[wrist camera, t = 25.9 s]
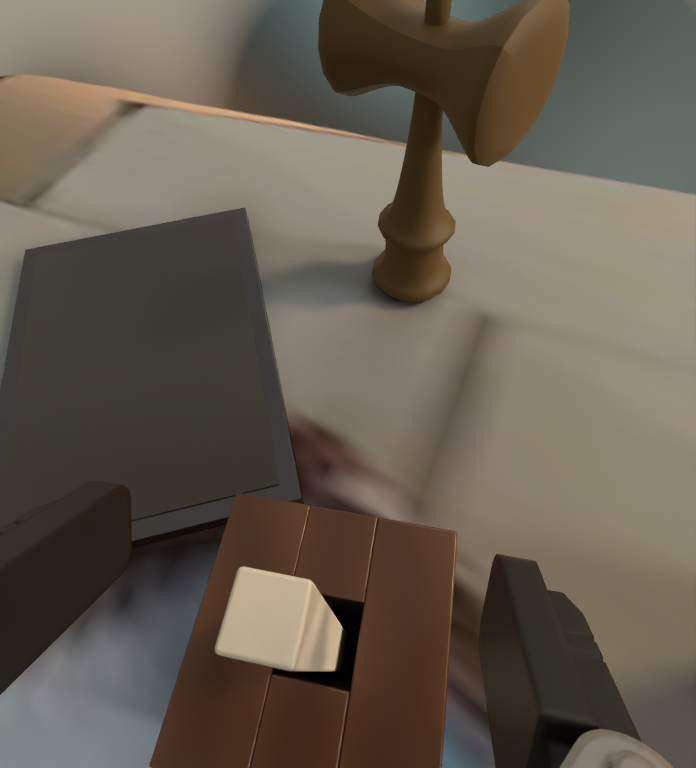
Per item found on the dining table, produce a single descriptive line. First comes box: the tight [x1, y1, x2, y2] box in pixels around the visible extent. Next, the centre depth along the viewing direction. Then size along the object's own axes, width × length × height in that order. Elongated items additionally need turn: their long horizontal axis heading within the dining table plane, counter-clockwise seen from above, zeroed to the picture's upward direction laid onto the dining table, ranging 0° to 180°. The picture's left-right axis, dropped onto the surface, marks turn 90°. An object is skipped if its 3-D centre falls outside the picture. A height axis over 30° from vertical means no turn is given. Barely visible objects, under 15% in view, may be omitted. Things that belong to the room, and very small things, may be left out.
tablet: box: [0, 208, 304, 548], centre depth 29 cm, size 16×23×1 cm
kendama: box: [318, 0, 569, 303], centre depth 23 cm, size 6×10×20 cm, turn 46°
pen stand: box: [150, 493, 457, 768], centre depth 18 cm, size 9×9×6 cm
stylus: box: [215, 566, 350, 672], centre depth 14 cm, size 1×1×15 cm
